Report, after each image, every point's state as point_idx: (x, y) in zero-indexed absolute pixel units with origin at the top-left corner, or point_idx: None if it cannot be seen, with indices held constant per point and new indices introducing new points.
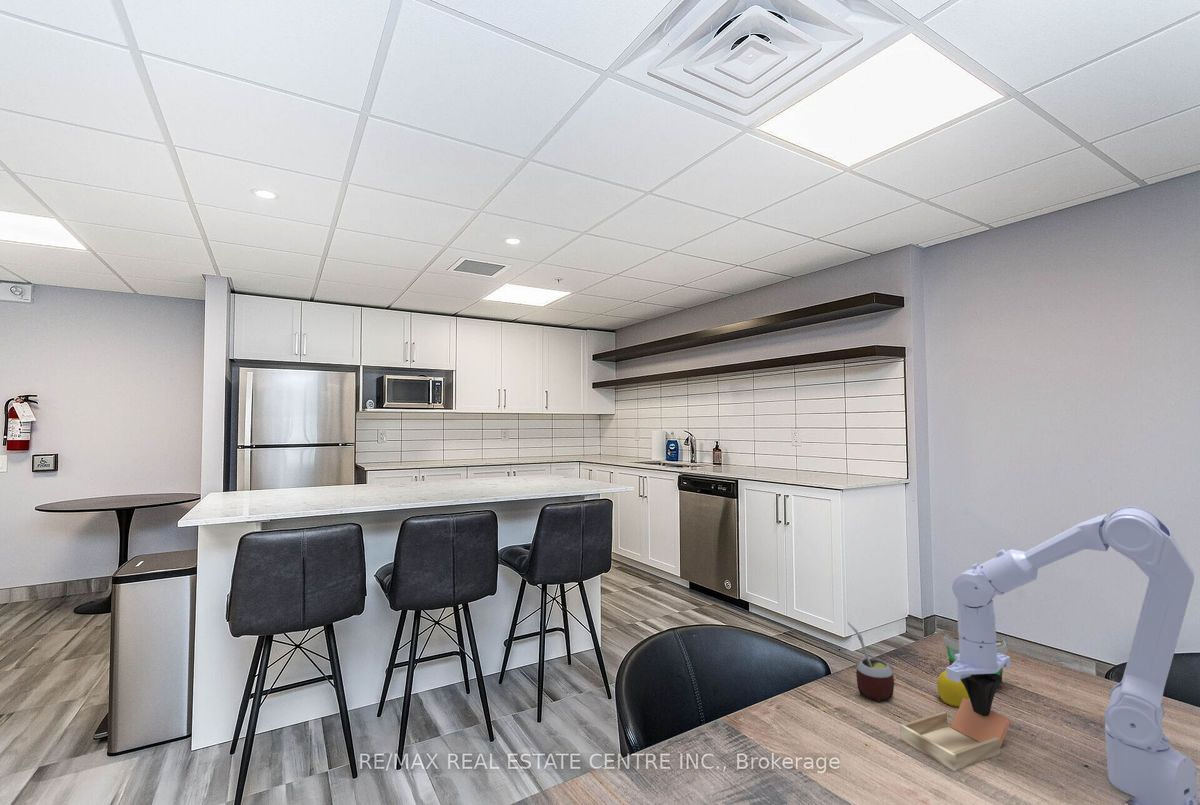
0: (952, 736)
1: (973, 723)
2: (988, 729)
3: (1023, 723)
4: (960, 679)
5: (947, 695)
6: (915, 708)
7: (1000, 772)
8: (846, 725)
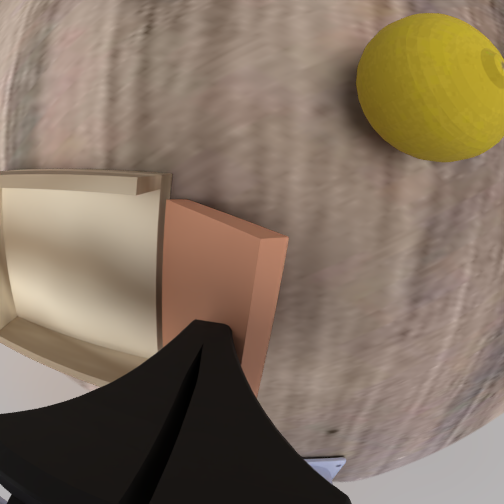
0: (110, 243)
1: (185, 298)
2: None
3: (451, 290)
4: (41, 409)
5: (361, 83)
6: (261, 17)
7: None
8: (14, 44)
